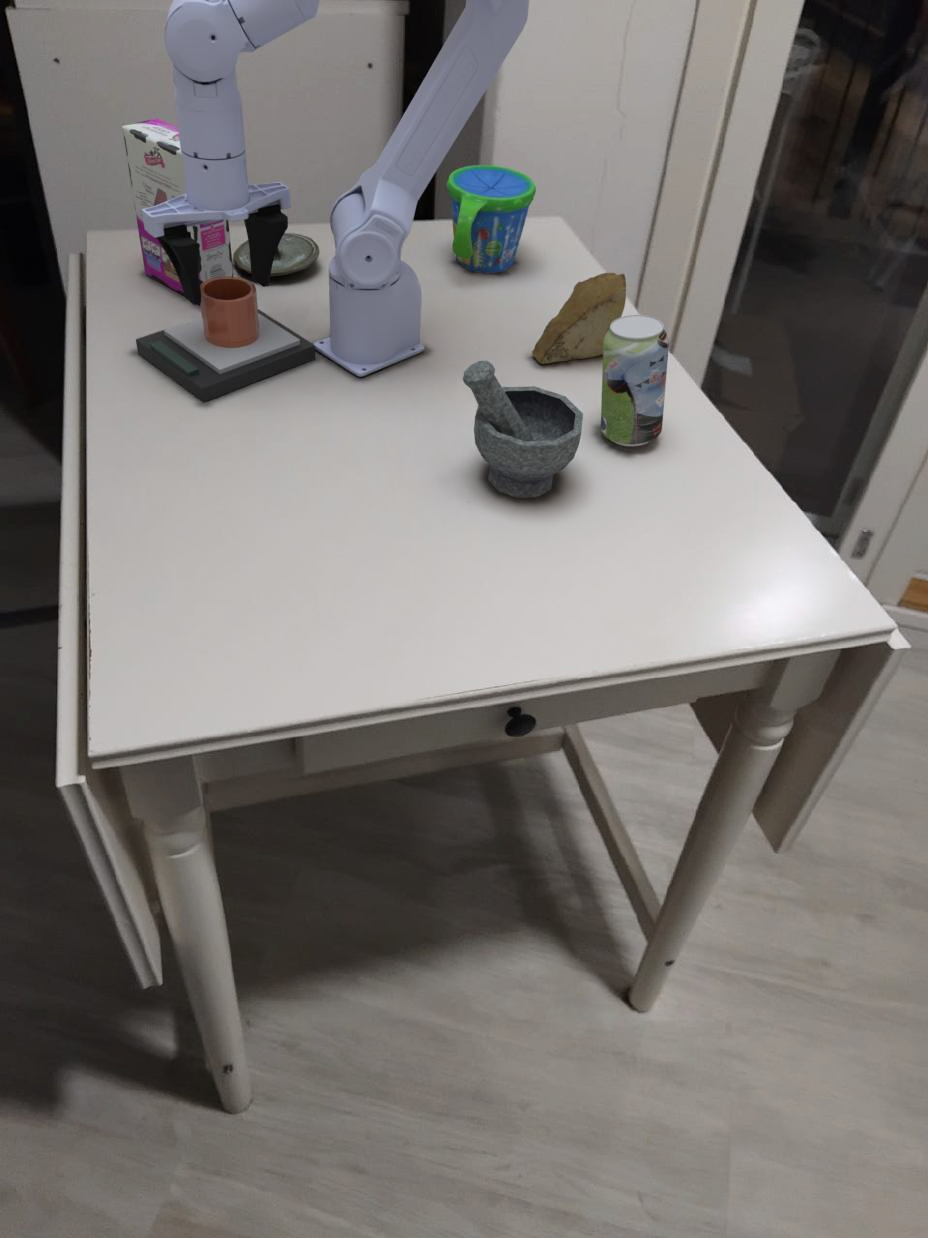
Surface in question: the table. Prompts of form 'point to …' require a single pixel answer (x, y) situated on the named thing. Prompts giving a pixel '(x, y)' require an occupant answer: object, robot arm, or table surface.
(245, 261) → the lid
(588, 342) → the rock
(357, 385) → the table surface
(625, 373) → the beverage can
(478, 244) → the snack cup
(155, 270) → the candy bar box
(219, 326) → the terracotta cup
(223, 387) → the scale
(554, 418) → the mortar and pestle
